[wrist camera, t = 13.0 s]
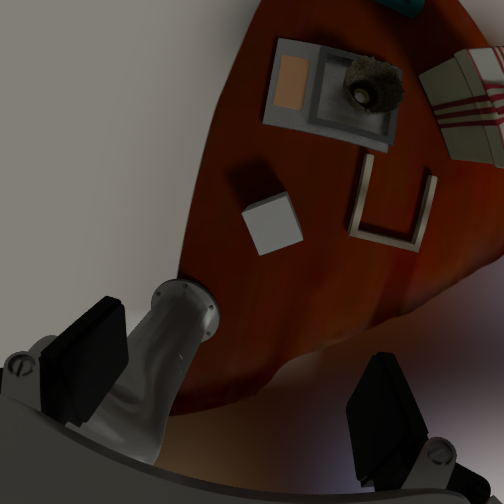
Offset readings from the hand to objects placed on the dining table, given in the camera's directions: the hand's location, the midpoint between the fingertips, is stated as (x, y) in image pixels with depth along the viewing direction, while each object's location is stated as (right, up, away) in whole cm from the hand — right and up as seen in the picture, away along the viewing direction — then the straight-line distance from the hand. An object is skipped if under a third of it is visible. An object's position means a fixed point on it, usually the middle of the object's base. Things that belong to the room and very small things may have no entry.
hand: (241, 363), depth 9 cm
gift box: (+36, +26, +21) cm, 50 cm away
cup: (+15, +26, +23) cm, 38 cm away
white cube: (+4, +9, +31) cm, 33 cm away
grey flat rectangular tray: (+12, +26, +24) cm, 38 cm away
